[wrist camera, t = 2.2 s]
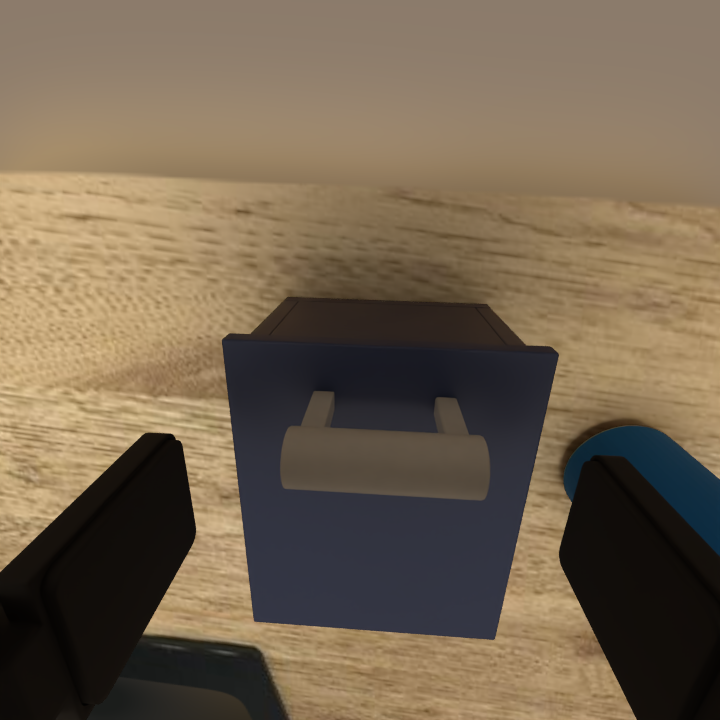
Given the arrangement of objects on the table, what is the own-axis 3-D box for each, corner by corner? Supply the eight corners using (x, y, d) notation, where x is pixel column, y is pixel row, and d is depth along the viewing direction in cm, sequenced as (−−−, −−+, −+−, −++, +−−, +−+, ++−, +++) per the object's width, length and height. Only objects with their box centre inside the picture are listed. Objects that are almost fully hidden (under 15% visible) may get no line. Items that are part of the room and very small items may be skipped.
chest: (287, 296, 21) (231, 351, 14) (487, 304, 21) (546, 365, 13) (296, 486, 26) (258, 606, 18) (459, 496, 26) (491, 623, 18)
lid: (228, 332, 13) (152, 397, 9) (551, 345, 13) (636, 420, 8) (258, 607, 18) (218, 734, 14) (491, 624, 18) (525, 761, 13)
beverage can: (571, 518, 26) (711, 761, 15) (546, 438, 24) (689, 651, 12) (679, 490, 24) (924, 733, 13) (663, 403, 22) (938, 605, 11)
